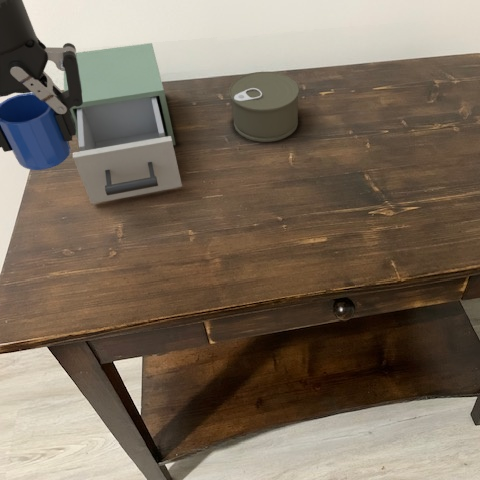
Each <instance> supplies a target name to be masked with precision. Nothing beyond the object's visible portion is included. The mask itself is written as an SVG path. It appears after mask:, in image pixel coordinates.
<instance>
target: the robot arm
mask: <svg viewBox="0 0 480 480" xmlns="http://www.w3.org/2000/svg"><path fill="white" fill-rule="evenodd" d="M76 53H77V49H76V46H75V45H74V44H73V43H71V42H67V43H65V44H63V46H62V47H48V46H46V44H44V43H43V42H42V41H41V40H40V39H39V38H38V36H37V34H36V31H35V29H34V26H33V24H32V21H31V18H30V16H29V13H28V11H27V8H26V7H25V3H24V1H23V0H0V98H2V97H7V96H11V95H13V94H27V93H33V94H34V95H35V96H37V97H38V98H39V99H40V100H41V101H45V102H46V103H47V104H48V105H49V106H50V107H51V108H52V109H53V110H54V111H55V117H56V120H57V122H58V125H59V127H60V129H61V132H62V134H63V137H64V139H65V141H66V142H67V141H69V142H73V137H74V136H76V124H75V121H74V119H73V116H72V114H71V111H70V108H71V107H73V106H76V107H78V106H81V105H82V103H83V99H82V88H81V81H80V74H79V68H78V61H77V54H76ZM49 61H50V62H52V63H54V64H55V66H56V68H57V69H58V70H59V71H61V72H64V71H65V73H66V78H67V84H68V90H67V91H65V92H64V91H62V89H60V88H59V86H57V85H56V84H55V83H54V81H53V79H52V78H51V77H50V75H48V74H47V73H46V71H45V69H46V67H47V64H48V62H49ZM0 148H1V149H2V150H3V152H4V153H6V152H13V151H12V149H11V147H10V145H9V143H8V141H7V139H6V138H5V136H4V134H3V132H2V130H1V128H0Z"/></svg>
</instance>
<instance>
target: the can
mask: <svg viewBox="0 0 480 480" xmlns="http://www.w3.org/2000/svg"><path fill="white" fill-rule="evenodd" d="M228 94H229V97H230V101H231V111H232V117H233V127H234V129H235V131H236V132H237V133H238V134H239V135H240V136H241V137H243V138H244V139H247V140H250V141H253V142H259V143H272V142H277V141H280V140H283V139H285V138H287V137H289V136H291V135H292V134H293V133H295V131H296V130H297V127H298V125H299V119H298V118H299V109H298V108H299V94H300V89H299V85H298V83H297V82H296V81H295V80H294V79H293V78H292V77H290V76H288V75H286V74H283V73H279V72H275V71H255V72H250V73H246V74H243V75H241V76H240V77H238V78H236V79H235V80H234V81H233V82H232V83H231V84H230V86H229V90H228Z"/></svg>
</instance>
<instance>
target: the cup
mask: <svg viewBox="0 0 480 480" xmlns="http://www.w3.org/2000/svg"><path fill="white" fill-rule="evenodd" d="M0 128H1V130H2V132H3V134H4V136H5V138H6V139H7V141H8V143H9V145H10V147H11V149H12V151H11V152H12V153H13V155H14V157H15V159H16V160H17V162H18V164H19V165H20V166H21V167H23V168H24V169H27V170H31V171H43V170H48V169H51V168H54V167H56V166H58V165H60V164H62V163H63V162H64V161H66V160H67V159H68V158H69V156H70V154H71V151H72V150H71V145H70V141H67V142H66V141H65V139H64V137H63V134H62V132H61V129H60V127H59V125H58V122H57V120H56V117H55V111H54V110H53V109H52V108H51V107H50V106H49V105H48V104H47V103H46V102H45V101H41V100H40V99H39V98H38V97H37V96H35V95H34V94H33V93H32V92H30V93H19V94H16V95H14V96H11V97H8V98H7V99H5V100H3V101H2V102H0Z"/></svg>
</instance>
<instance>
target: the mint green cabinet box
mask: <svg viewBox="0 0 480 480" xmlns="http://www.w3.org/2000/svg"><path fill="white" fill-rule="evenodd" d="M76 54H77V61H78V68H79V74H80V81H81V88H82V99H83V103H82V105H81V106H78V107H76V106H73V107H71V108H70V111H71V114H72V116H73V119H74V121H75V124H76V135H75V137H76V139H77V141H78V122H77V108H82V107H88V106H95V105H101V104H108V103H114V102H121V101H127V100H134V99H141V98H147V97H154V96H156V99H157V103H158V107H159V112H160V116H161V120H162V124H163V129H164V133H165V137H167V136H171V138H172V142H173V146H176V139H175V135H174V129H173V127H172V122H171V117H170V111H169V107H168V103H167V98H166V94H165V88H164V85H163V81H162V77H161V74H160V69H159V65H158V62H157V58H156V53H155V50H154V46H153V43H152V42H149V43H142V44H141V43H140V44H135V45H133V44H132V45H127V46H119V47H118V46H117V47H110V48H103V49H97V50H95V49H94V50H87V51H79V52H76ZM67 90H68V84H67V78H66V73H65V71H63V92H65V91H67ZM78 143H79V141H78Z"/></svg>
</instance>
